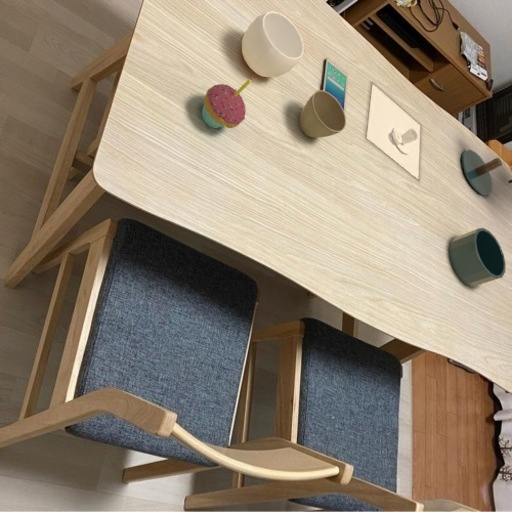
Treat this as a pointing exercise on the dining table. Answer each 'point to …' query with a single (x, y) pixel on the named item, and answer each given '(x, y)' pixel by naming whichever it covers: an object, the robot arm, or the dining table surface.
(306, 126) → the flower pot
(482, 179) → the lid
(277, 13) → the cup
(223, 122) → the cupcake
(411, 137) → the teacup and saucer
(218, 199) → the dining table surface
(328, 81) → the smartphone
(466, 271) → the bowl
